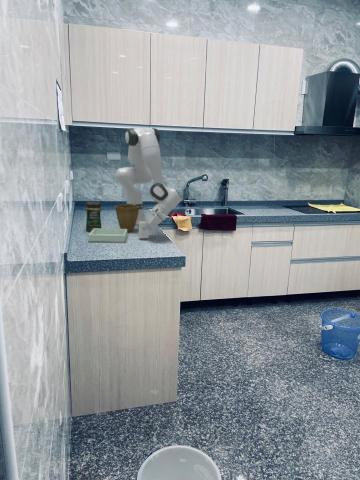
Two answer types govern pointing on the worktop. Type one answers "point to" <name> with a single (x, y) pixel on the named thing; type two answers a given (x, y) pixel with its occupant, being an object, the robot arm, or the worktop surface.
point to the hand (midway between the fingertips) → (142, 228)
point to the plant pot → (127, 216)
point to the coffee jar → (93, 215)
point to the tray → (108, 235)
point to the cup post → (141, 232)
